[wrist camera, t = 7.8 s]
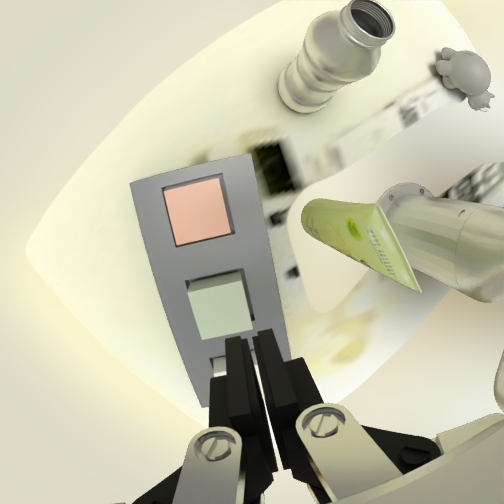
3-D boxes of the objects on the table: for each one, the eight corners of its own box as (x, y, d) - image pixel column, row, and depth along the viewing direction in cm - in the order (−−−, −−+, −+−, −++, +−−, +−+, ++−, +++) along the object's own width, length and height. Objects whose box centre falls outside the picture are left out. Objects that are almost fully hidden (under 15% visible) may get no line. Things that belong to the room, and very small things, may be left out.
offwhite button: (258, 349, 38) (261, 363, 35) (266, 382, 40) (270, 398, 36) (213, 358, 38) (213, 373, 34) (224, 391, 39) (225, 407, 36)
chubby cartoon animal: (454, 119, 38) (495, 130, 31) (427, 63, 31) (475, 68, 24) (467, 95, 37) (506, 104, 30) (442, 41, 30) (486, 44, 23)
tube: (291, 231, 37) (358, 282, 18) (300, 191, 36) (379, 204, 17) (332, 241, 38) (422, 294, 19) (341, 203, 37) (442, 226, 18)
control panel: (248, 155, 34) (250, 153, 32) (292, 378, 42) (296, 388, 40) (135, 182, 34) (129, 183, 31) (202, 397, 41) (201, 407, 39)
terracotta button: (219, 178, 34) (218, 177, 31) (229, 228, 36) (230, 232, 32) (169, 190, 34) (163, 191, 31) (181, 239, 35) (176, 245, 32)
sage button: (239, 271, 35) (241, 280, 32) (250, 316, 37) (253, 329, 33) (190, 282, 35) (187, 292, 32) (203, 326, 37) (202, 339, 33)
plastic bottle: (277, 117, 34) (337, 53, 14) (272, 68, 32) (319, -25, 13) (327, 116, 34) (421, 67, 15) (321, 69, 33) (399, -8, 13)
